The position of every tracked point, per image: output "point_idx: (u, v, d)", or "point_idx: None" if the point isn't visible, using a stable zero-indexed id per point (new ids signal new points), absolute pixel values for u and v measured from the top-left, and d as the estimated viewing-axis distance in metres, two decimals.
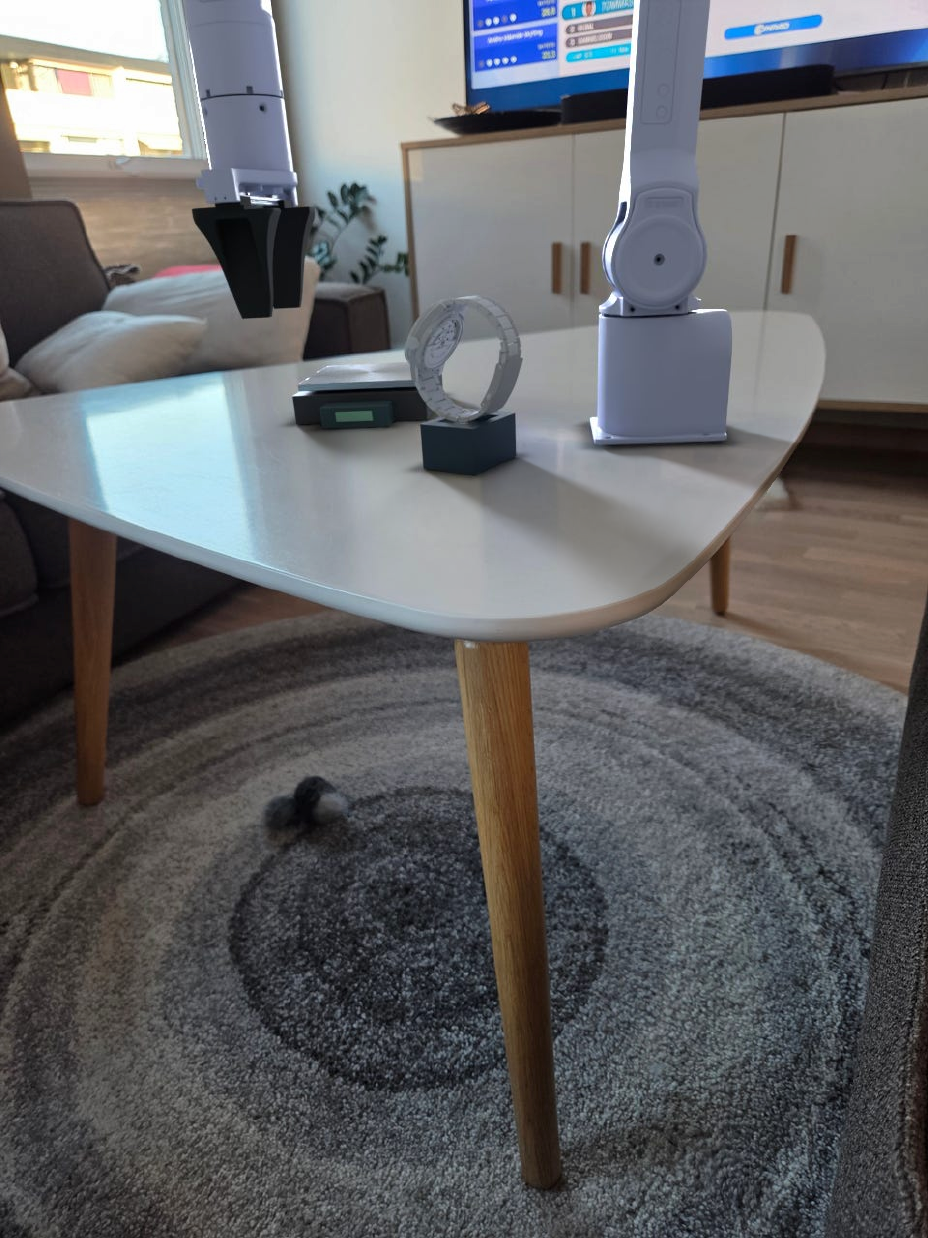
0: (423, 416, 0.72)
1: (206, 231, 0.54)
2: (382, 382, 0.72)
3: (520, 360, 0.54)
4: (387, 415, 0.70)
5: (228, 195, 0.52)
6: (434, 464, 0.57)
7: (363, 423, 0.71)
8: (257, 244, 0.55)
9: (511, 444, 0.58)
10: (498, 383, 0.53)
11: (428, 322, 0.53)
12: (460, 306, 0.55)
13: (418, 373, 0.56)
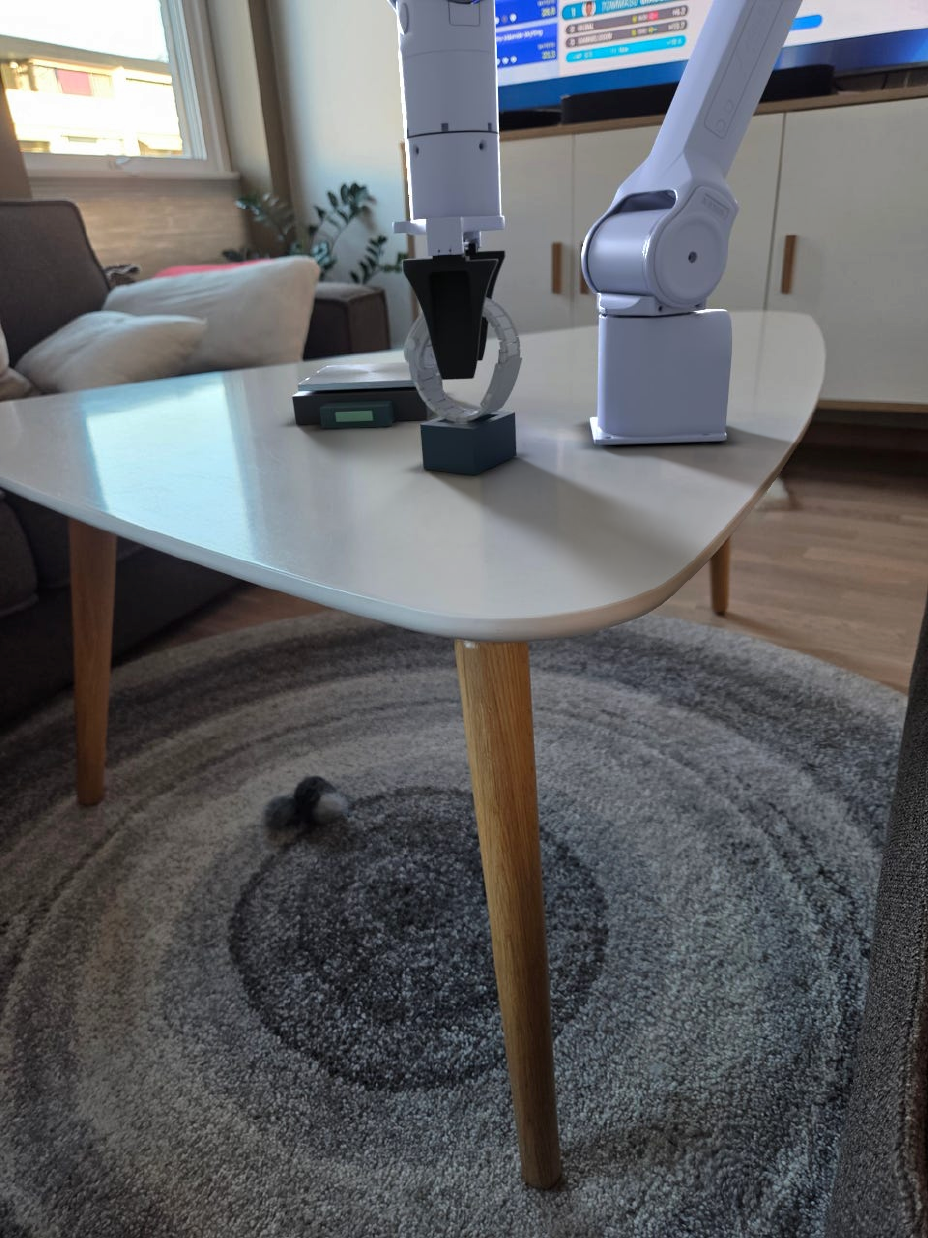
0: (423, 416, 0.72)
1: (417, 285, 0.48)
2: (382, 382, 0.72)
3: (519, 360, 0.54)
4: (387, 415, 0.70)
5: (454, 247, 0.46)
6: (434, 464, 0.57)
7: (363, 423, 0.71)
8: (473, 299, 0.49)
9: (511, 444, 0.58)
10: (497, 383, 0.53)
11: None
12: None
13: (417, 373, 0.56)
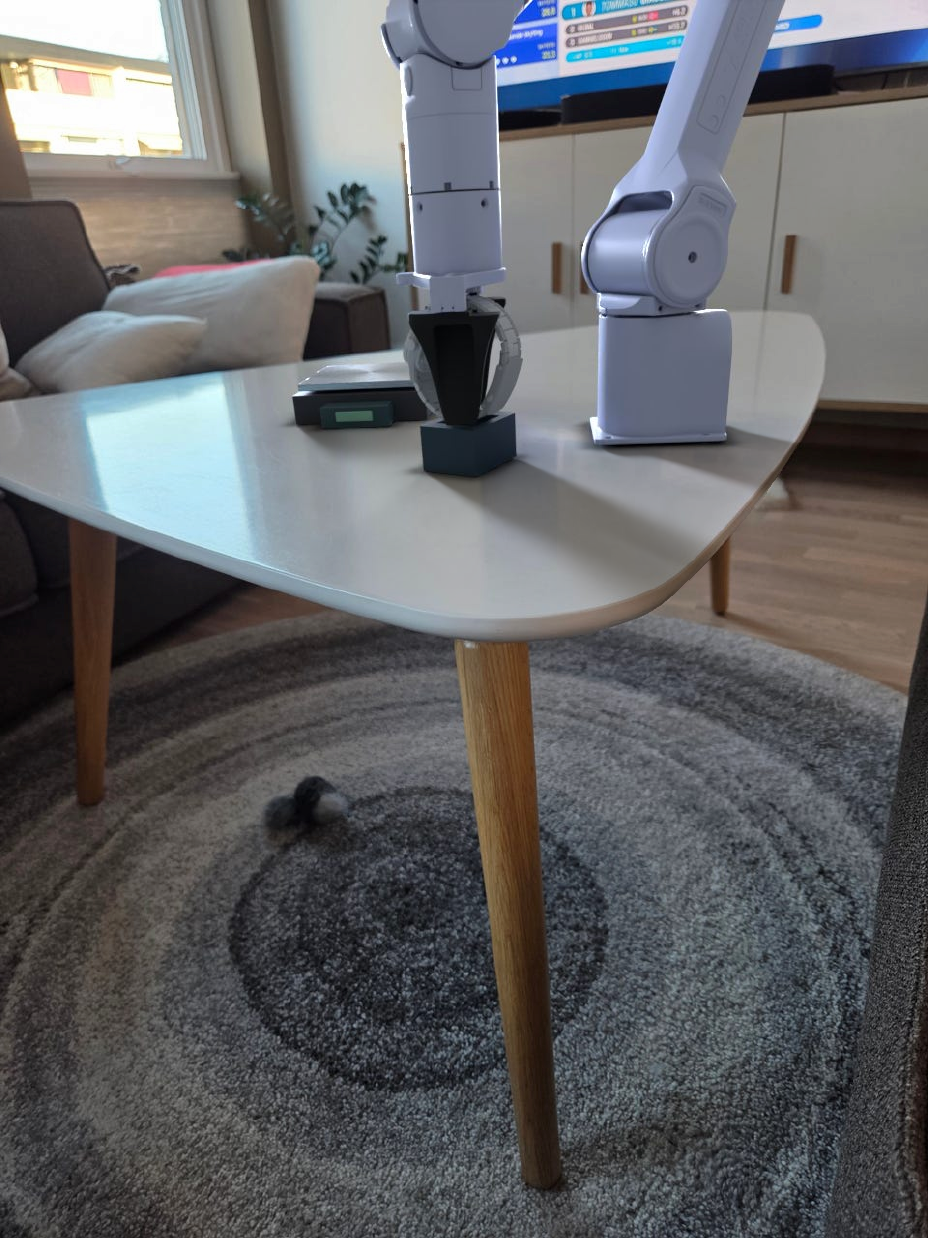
0: (423, 416, 0.72)
1: (422, 337, 0.50)
2: (382, 382, 0.72)
3: (520, 360, 0.53)
4: (387, 415, 0.70)
5: (457, 304, 0.47)
6: (434, 466, 0.56)
7: (363, 423, 0.71)
8: (476, 351, 0.50)
9: (511, 445, 0.58)
10: (499, 384, 0.53)
11: None
12: None
13: (417, 374, 0.56)
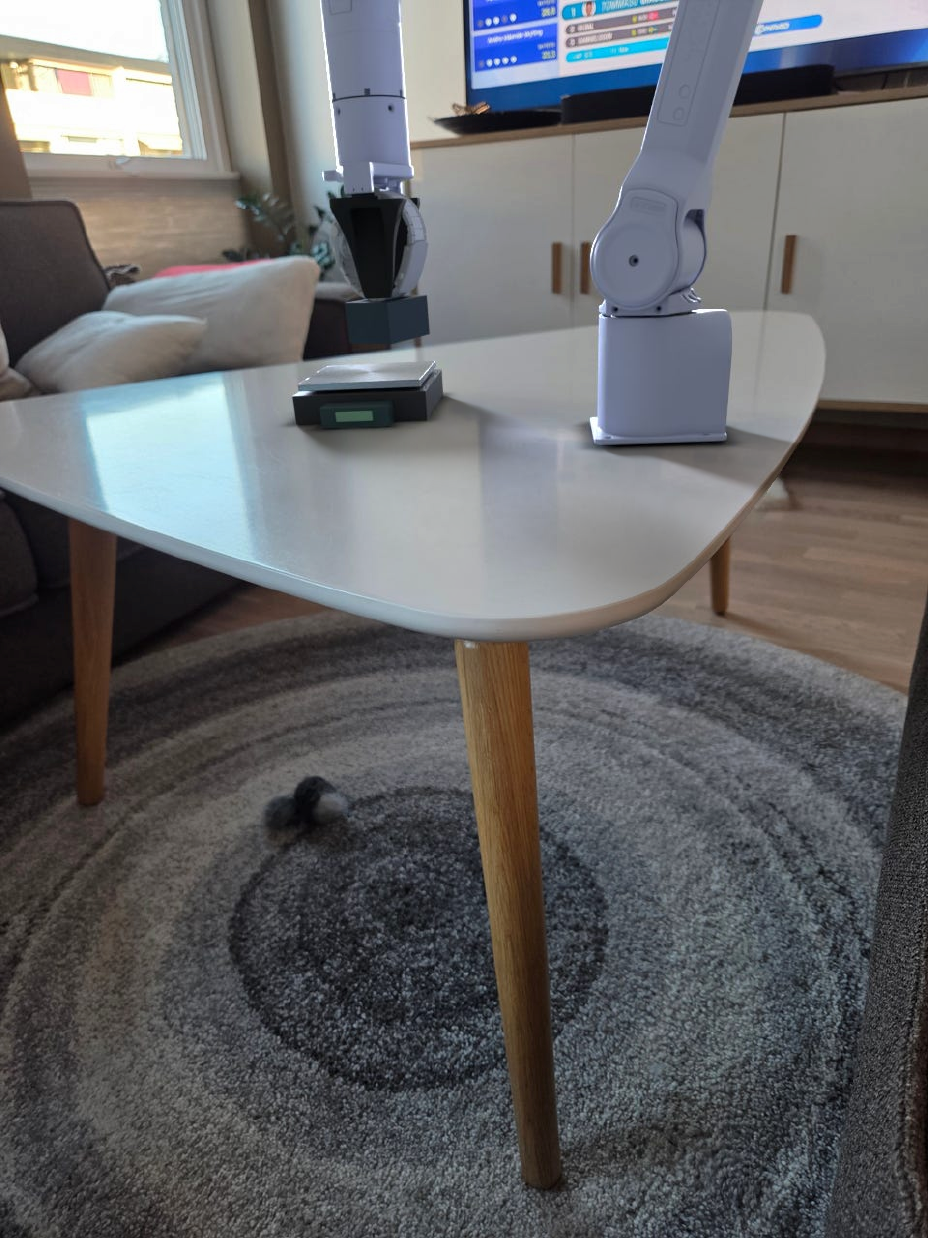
0: (423, 416, 0.72)
1: (341, 219, 0.61)
2: (382, 382, 0.72)
3: (426, 244, 0.64)
4: (387, 415, 0.70)
5: (365, 186, 0.58)
6: (358, 338, 0.67)
7: (363, 423, 0.71)
8: (386, 231, 0.61)
9: (424, 323, 0.69)
10: (407, 263, 0.64)
11: None
12: None
13: (342, 260, 0.67)
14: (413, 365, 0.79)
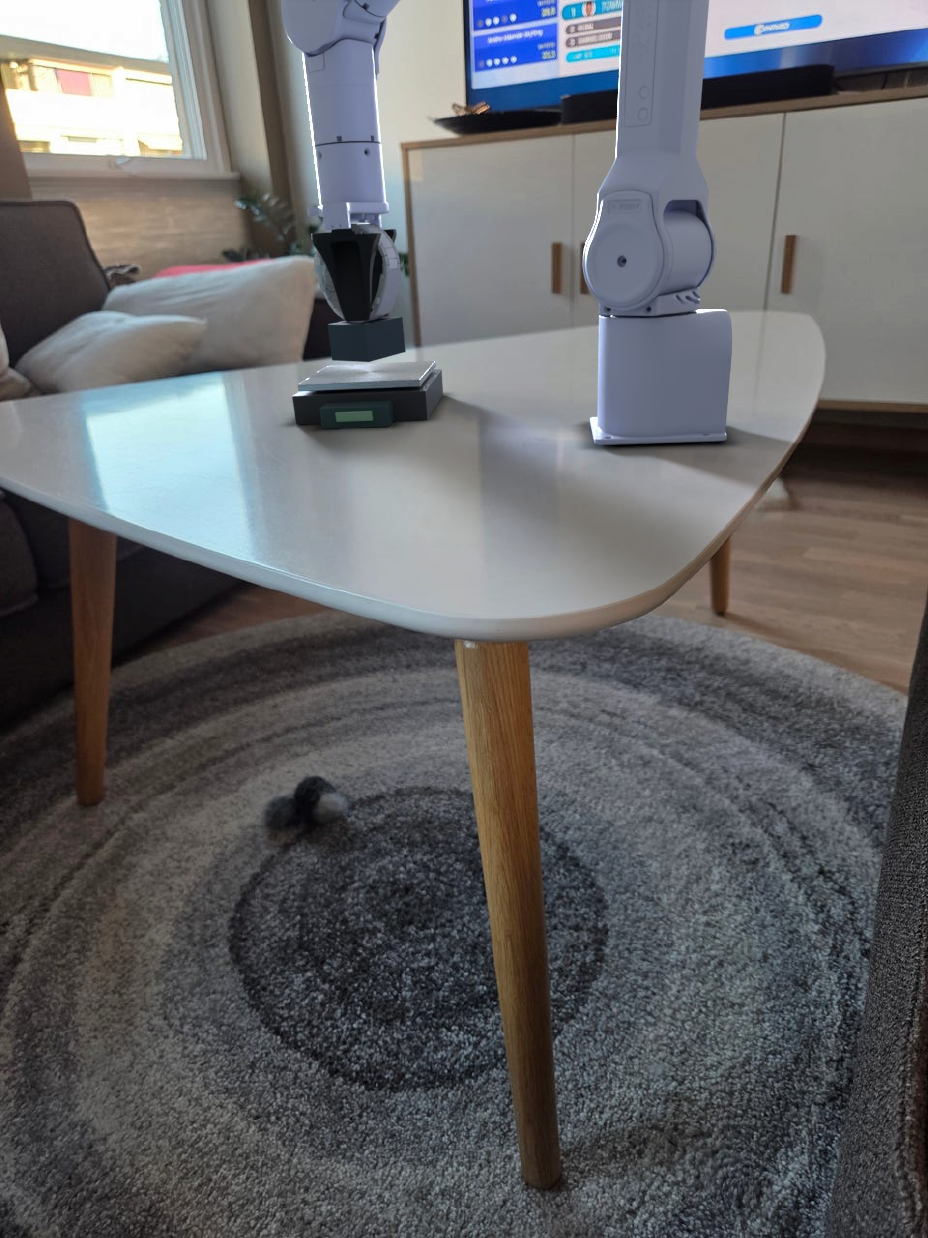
0: (423, 416, 0.72)
1: (322, 251, 0.68)
2: (382, 382, 0.72)
3: (400, 272, 0.71)
4: (387, 415, 0.70)
5: (342, 223, 0.65)
6: (339, 356, 0.74)
7: (363, 423, 0.71)
8: (363, 261, 0.68)
9: (400, 342, 0.76)
10: (383, 289, 0.71)
11: None
12: None
13: (325, 285, 0.74)
14: (413, 365, 0.79)
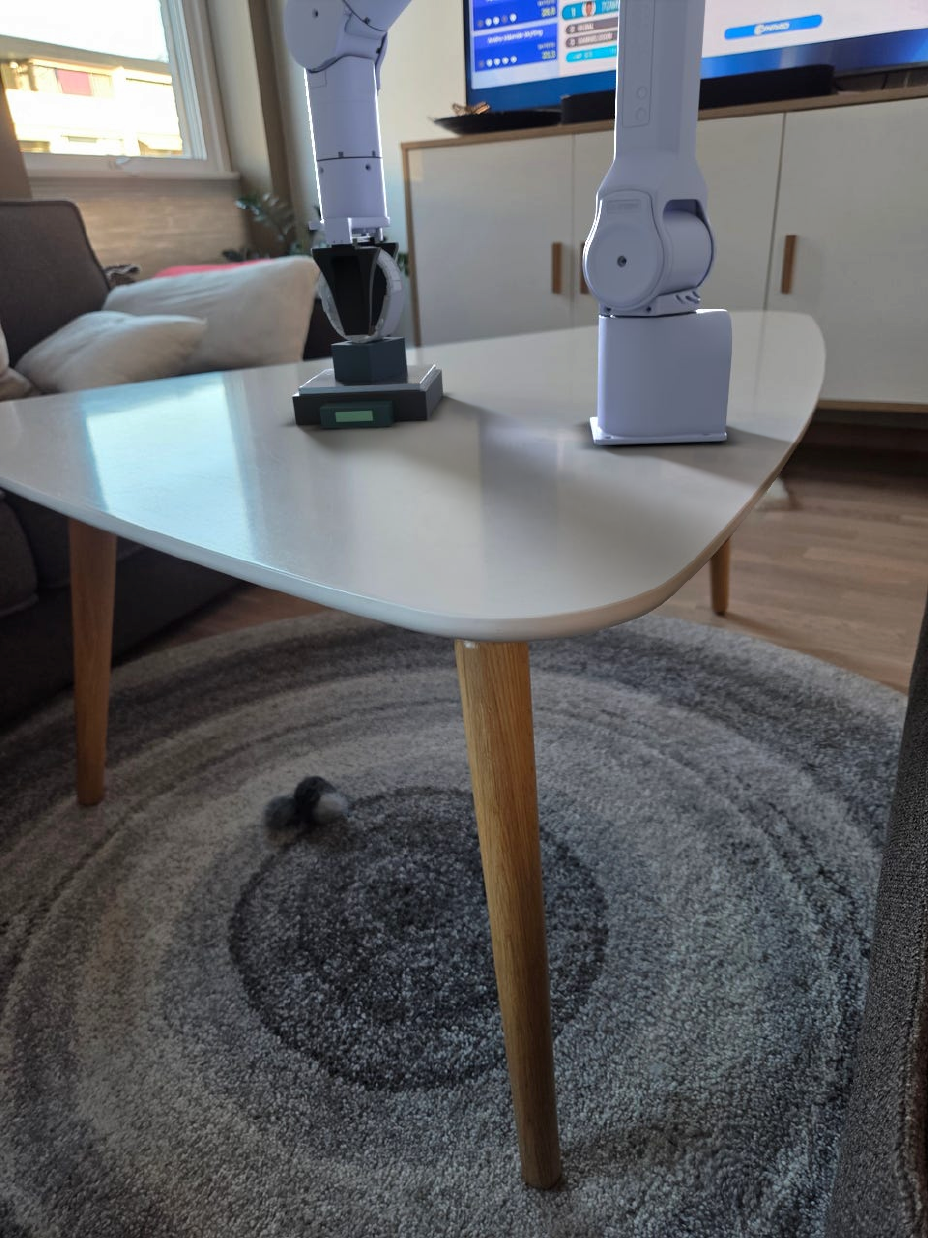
0: (423, 416, 0.72)
1: (322, 266, 0.68)
2: (382, 385, 0.72)
3: (403, 294, 0.72)
4: (387, 415, 0.70)
5: (344, 239, 0.65)
6: (342, 375, 0.75)
7: (363, 423, 0.71)
8: (362, 276, 0.68)
9: (402, 362, 0.77)
10: (386, 310, 0.72)
11: None
12: None
13: (329, 306, 0.74)
14: (413, 368, 0.79)
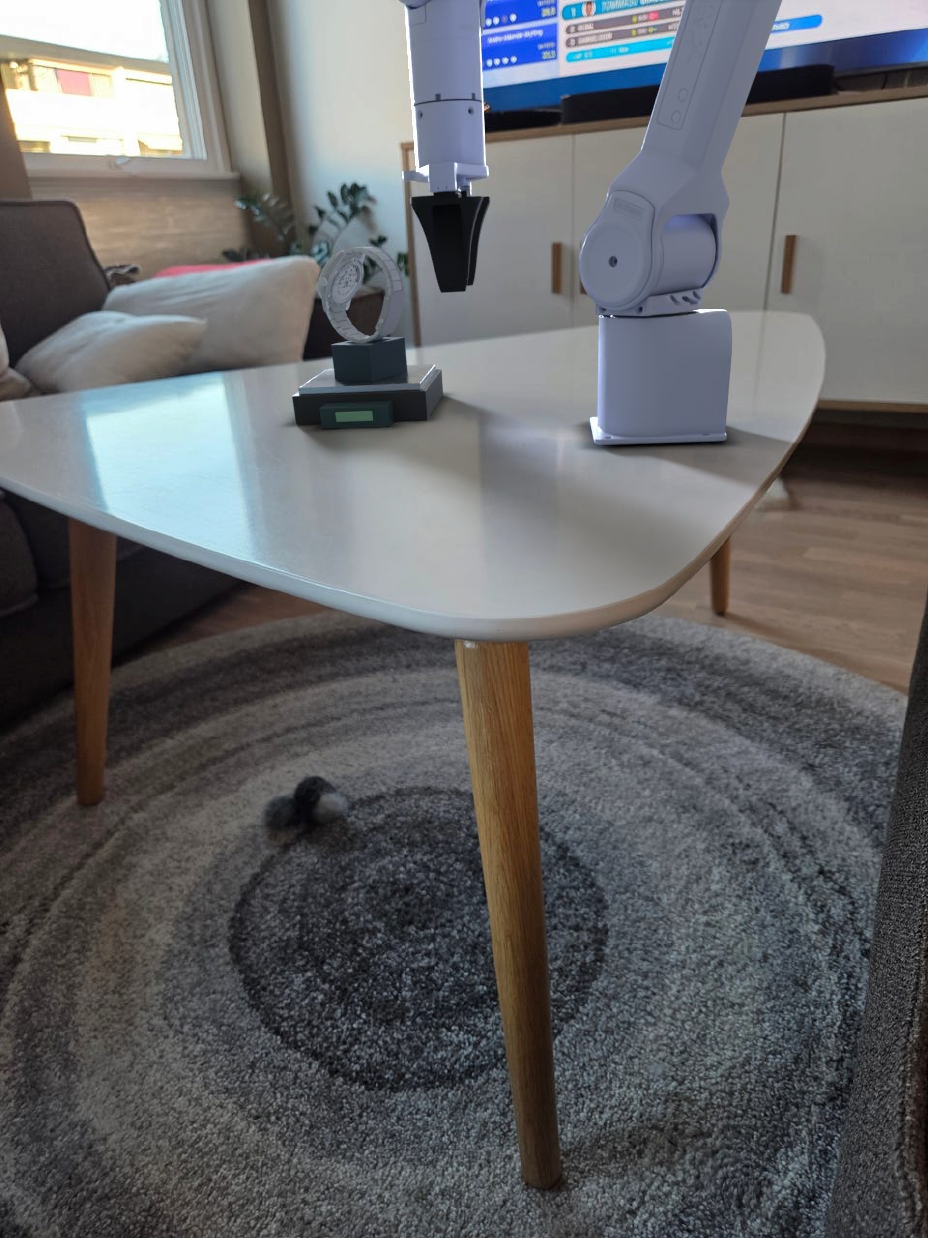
0: (423, 416, 0.72)
1: (422, 216, 0.64)
2: (382, 385, 0.72)
3: (403, 294, 0.72)
4: (387, 415, 0.70)
5: (449, 185, 0.61)
6: (342, 375, 0.75)
7: (363, 423, 0.71)
8: (464, 227, 0.64)
9: (402, 362, 0.77)
10: (386, 310, 0.72)
11: (333, 265, 0.72)
12: (358, 254, 0.73)
13: (329, 306, 0.74)
14: (413, 368, 0.79)
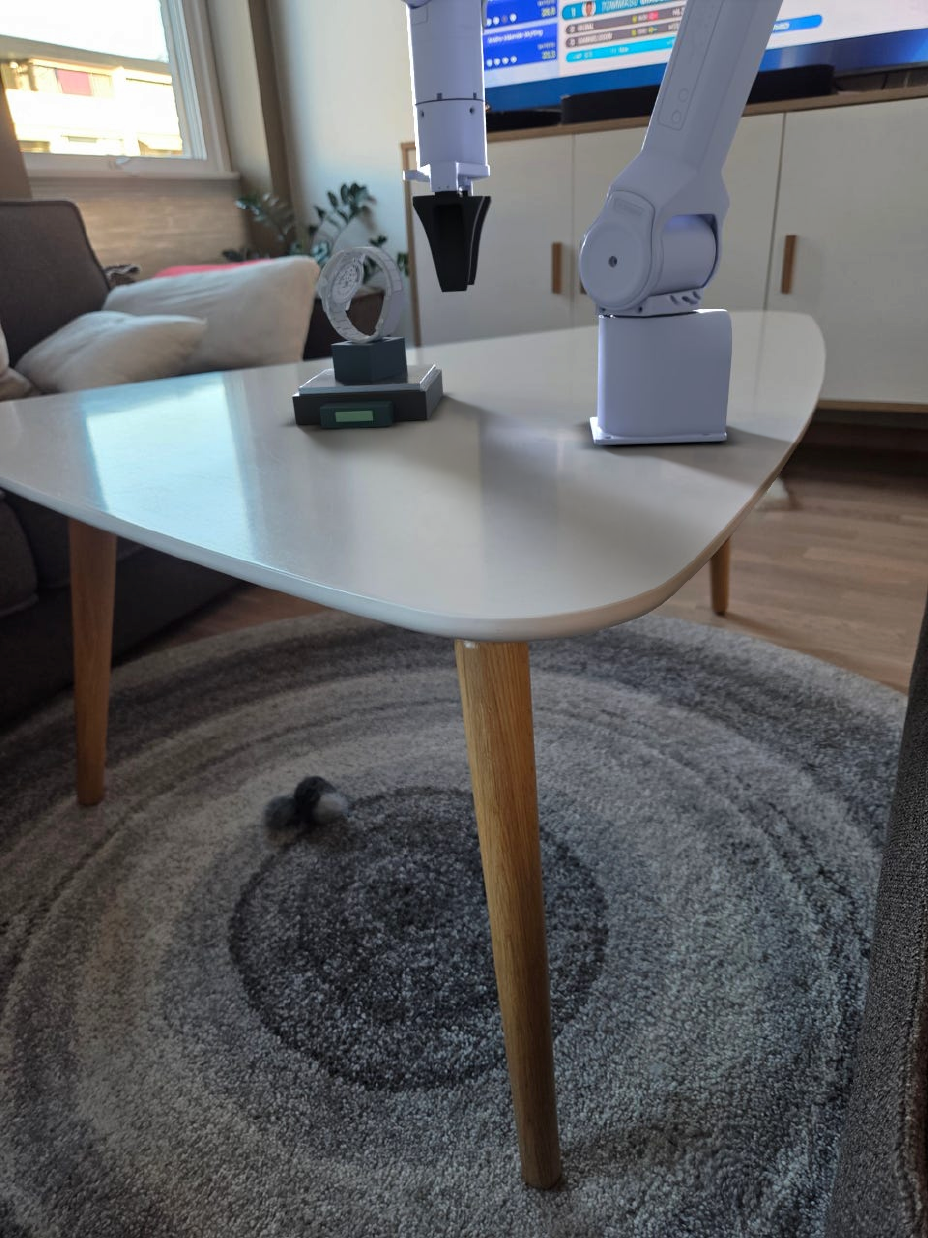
0: (423, 416, 0.72)
1: (423, 216, 0.64)
2: (382, 385, 0.72)
3: (403, 294, 0.72)
4: (387, 415, 0.70)
5: (450, 184, 0.61)
6: (342, 375, 0.75)
7: (363, 423, 0.71)
8: (465, 227, 0.64)
9: (402, 362, 0.77)
10: (386, 310, 0.72)
11: (333, 265, 0.72)
12: (358, 254, 0.73)
13: (329, 306, 0.74)
14: (413, 368, 0.79)
